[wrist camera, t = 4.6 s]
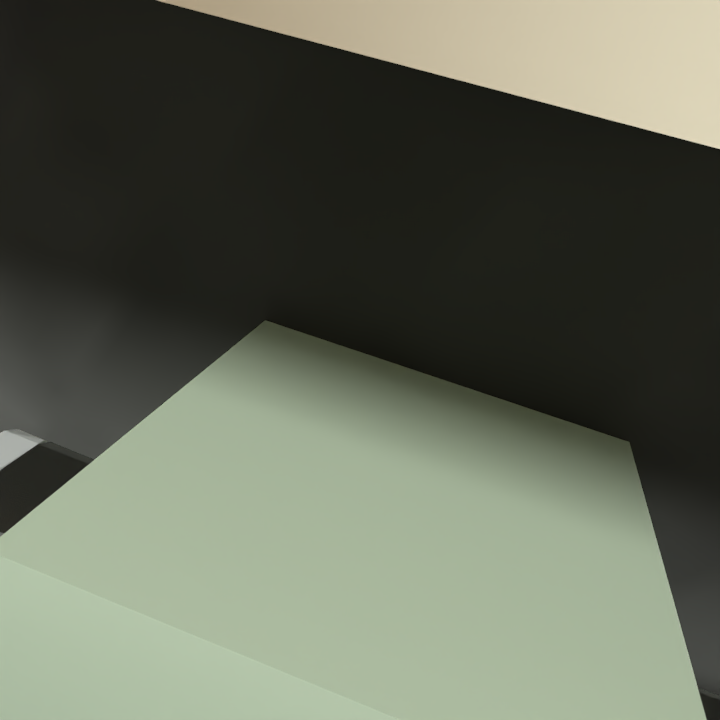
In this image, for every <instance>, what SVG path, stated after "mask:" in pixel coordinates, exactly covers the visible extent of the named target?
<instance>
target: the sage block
mask: <svg viewBox="0 0 720 720" xmlns="http://www.w3.org/2000/svg"><path fill="white" fill-rule="evenodd" d="M0 720H707V719H706V716H705V712H704V708H703V705H702V701H701V698H700V694H699V690H698V687H697V683H696V680H695V676H694V672H693V669H692V665H691V662H690V658H689V655H688V651H687V647H686V644H685V640H684V637H683V633H682V629H681V626H680V622H679V619H678V615H677V611H676V608H675V604H674V601H673V597H672V593H671V590H670V586H669V583H668V579H667V575H666V572H665V568H664V565H663V561H662V558H661V554H660V550H659V547H658V543H657V540H656V536H655V532H654V529H653V525H652V522H651V518H650V514H649V511H648V507H647V504H646V500H645V496H644V493H643V489H642V486H641V482H640V478H639V475H638V471H637V468H636V464H635V461H634V457H633V453H632V450H631V446H630V443H629V442H628V441H625V440H622V439H619V438H616V437H613V436H610V435H607V434H604V433H601V432H598V431H595V430H592V429H589V428H586V427H583V426H580V425H577V424H574V423H571V422H568V421H565V420H562V419H559V418H556V417H553V416H550V415H547V414H544V413H541V412H538V411H535V410H532V409H529V408H526V407H523V406H520V405H517V404H514V403H511V402H508V401H505V400H502V399H499V398H496V397H493V396H490V395H487V394H484V393H481V392H478V391H475V390H472V389H469V388H466V387H463V386H460V385H457V384H454V383H451V382H448V381H445V380H442V379H440V378H437V377H434V376H431V375H428V374H425V373H422V372H419V371H416V370H413V369H410V368H407V367H404V366H401V365H398V364H395V363H392V362H389V361H386V360H383V359H380V358H377V357H374V356H371V355H368V354H365V353H362V352H359V351H356V350H353V349H350V348H347V347H344V346H341V345H338V344H335V343H332V342H329V341H326V340H323V339H320V338H317V337H314V336H311V335H308V334H305V333H302V332H299V331H296V330H293V329H290V328H287V327H284V326H281V325H278V324H275V323H272V322H269V321H266V320H265V321H264V322H262V323H261V324H260V325H259V326H258V327H256V328H255V329H254V330H253V331H251V332H250V333H249V334H248V335H247V336H245V337H244V338H243V339H242V340H240V341H239V342H238V343H237V344H236V345H234V346H233V347H232V348H231V349H229V350H228V351H227V352H226V353H225V354H223V355H222V356H221V357H220V358H218V359H217V360H216V361H215V362H214V363H212V364H211V365H210V366H209V367H207V368H206V369H205V370H204V371H202V372H201V373H200V374H199V375H198V376H196V377H195V378H194V379H193V380H191V381H190V382H189V383H188V384H187V385H185V386H184V387H183V388H182V389H180V390H179V391H178V392H177V393H176V394H174V395H173V396H172V397H171V398H169V399H168V400H167V401H166V402H165V403H163V404H162V405H161V406H160V407H158V408H157V409H156V410H155V411H154V412H152V413H151V414H150V415H149V416H147V417H146V418H145V419H144V420H143V421H141V422H140V423H139V424H138V425H136V426H135V427H134V428H133V429H132V430H130V431H129V432H128V433H127V434H125V435H124V436H123V437H122V438H121V439H119V440H118V441H117V442H116V443H114V444H113V445H112V446H111V447H110V448H108V449H107V450H106V451H105V452H103V453H102V454H101V455H100V456H99V457H97V458H96V459H95V460H94V461H92V462H91V463H90V464H89V465H88V466H86V467H85V468H84V469H83V470H81V471H80V472H79V473H78V474H77V475H75V476H74V477H73V478H72V479H70V480H69V481H68V482H67V483H66V484H64V485H63V486H62V487H61V488H59V489H58V490H57V491H56V492H54V493H53V494H52V495H51V496H50V497H48V498H47V499H46V500H45V501H43V502H42V503H41V504H40V505H39V506H37V507H36V508H35V509H34V510H32V511H31V512H30V513H29V514H28V515H26V516H25V517H24V518H23V519H21V520H20V521H19V522H18V523H17V524H15V525H14V526H13V527H12V528H10V529H9V530H8V531H7V532H6V533H4V534H3V535H2V536H1V537H0Z"/></svg>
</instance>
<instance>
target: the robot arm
mask: <svg viewBox="0 0 720 720" xmlns="http://www.w3.org/2000/svg"><path fill="white" fill-rule="evenodd" d="M92 461H94V459H92V458H89V457H87V456H84V455H82V454H80V453H77V452H75V451H72V450H70V449H67V448H65V447H62V446H60V445H57V444H55V443H53V442H47V441H45V440H43V439H40V438H38V437H36V436H33V435H31V434H28V433H26V432H23V431H21V430H19V429H14V430H6V431H3V432H1V433H0V537H1V536H2V535H3V534H4V533H6V532H7V531H8V530H9V529H10V528H12V527H13V526H14V525H15V524H17V523H18V522H19V521H20V520H21V519H23V518H24V517H25V516H26V515H28V514H29V513H30V512H31V511H32V510H34V509H35V508H36V507H37V506H39V505H40V504H41V503H42V502H43V501H45V500H46V499H47V498H48V497H50V496H51V495H52V494H53V493H54V492H56V491H57V490H58V489H59V488H61V487H62V486H63V485H64V484H66V483H67V482H68V481H69V480H70V479H72V478H73V477H74V476H75V475H77V474H78V473H79V472H80V471H81V470H83V469H84V468H85V467H86V466H88V465H89V464H90V463H91V462H92ZM698 690H699V694H700V698H701V701H702V705H703V708H704V712H705V716H706V719H707V720H720V696H719V695H716V694H713V693H711V692H708V691H705V690H703V689H700V688H698Z"/></svg>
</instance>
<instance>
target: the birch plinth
mask: <svg viewBox="0 0 720 720" xmlns="http://www.w3.org/2000/svg"><path fill="white" fill-rule="evenodd" d="M157 1H161V2H165V3H168V4H172V5H176V6H180V7H184V8H187V9H191V10H195V11H199V12H203V13H206V14H210V15H214V16H218V17H221V18H225V19H229V20H233V21H237V22H240V23H244V24H248V25H252V26H256V27H259V28H263V29H267V30H271V31H275V32H278V33H282V34H286V35H290V36H293V37H297V38H301V39H305V40H309V41H312V42H316V43H320V44H324V45H328V46H331V47H335V48H339V49H343V50H346V51H350V52H354V53H358V54H362V55H365V56H369V57H373V58H377V59H381V60H384V61H388V62H392V63H396V64H399V65H403V66H407V67H411V68H415V69H418V70H422V71H426V72H430V73H434V74H437V75H441V76H445V77H449V78H452V79H456V80H460V81H464V82H468V83H471V84H475V85H479V86H483V87H487V88H490V89H494V90H498V91H502V92H505V93H509V94H513V95H517V96H521V97H524V98H528V99H532V100H536V101H540V102H543V103H547V104H551V105H555V106H559V107H562V108H566V109H570V110H574V111H577V112H581V113H585V114H589V115H593V116H596V117H600V118H604V119H608V120H612V121H615V122H619V123H623V124H627V125H630V126H634V127H638V128H642V129H646V130H649V131H653V132H657V133H661V134H665V135H668V136H672V137H676V138H680V139H683V140H687V141H691V142H695V143H699V144H702V145H706V146H710V147H714V148H718V149H720V0H157Z"/></svg>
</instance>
